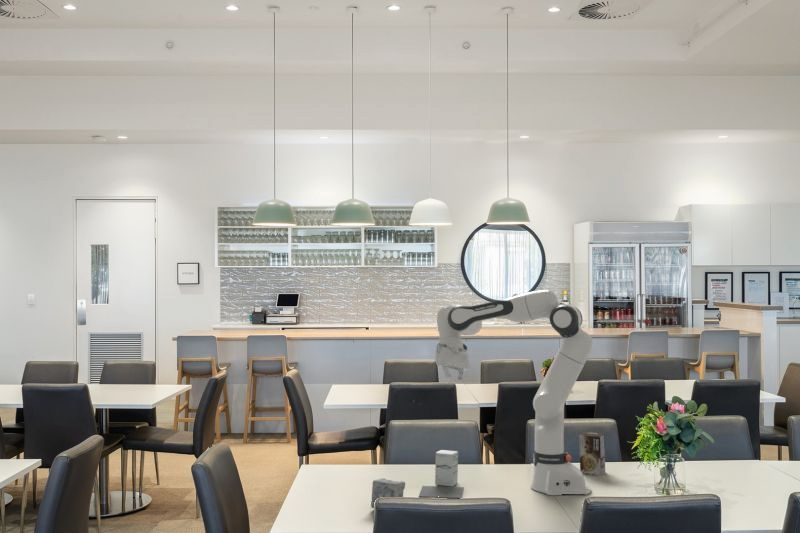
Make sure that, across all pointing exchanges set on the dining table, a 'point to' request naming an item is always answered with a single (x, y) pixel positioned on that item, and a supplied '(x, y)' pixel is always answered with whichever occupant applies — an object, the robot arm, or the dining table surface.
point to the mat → (441, 492)
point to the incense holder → (386, 489)
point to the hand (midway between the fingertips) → (454, 379)
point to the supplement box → (446, 468)
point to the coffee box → (592, 453)
